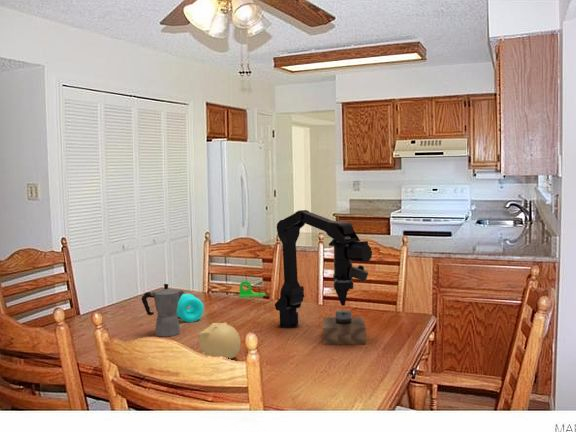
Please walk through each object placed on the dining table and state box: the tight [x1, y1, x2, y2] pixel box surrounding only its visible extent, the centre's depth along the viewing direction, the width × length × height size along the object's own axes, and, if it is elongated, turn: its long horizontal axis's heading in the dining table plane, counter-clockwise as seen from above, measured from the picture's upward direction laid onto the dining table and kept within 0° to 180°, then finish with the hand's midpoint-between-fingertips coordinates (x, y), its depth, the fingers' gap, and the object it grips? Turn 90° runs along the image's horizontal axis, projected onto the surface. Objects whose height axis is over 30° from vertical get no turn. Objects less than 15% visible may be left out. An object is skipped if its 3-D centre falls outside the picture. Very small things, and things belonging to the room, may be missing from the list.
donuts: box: [176, 293, 205, 323], centre depth 217 cm, size 10×10×10 cm
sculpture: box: [198, 322, 241, 360], centre depth 169 cm, size 12×12×11 cm
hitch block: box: [322, 316, 367, 345], centre depth 187 cm, size 14×14×6 cm
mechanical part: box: [239, 280, 266, 298], centre depth 257 cm, size 12×6×8 cm, turn 93°
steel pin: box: [334, 309, 353, 324], centre depth 187 cm, size 5×5×8 cm
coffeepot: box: [141, 283, 185, 338], centre depth 198 cm, size 15×9×18 cm, turn 116°
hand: (343, 305), depth 187 cm, fingers closed
